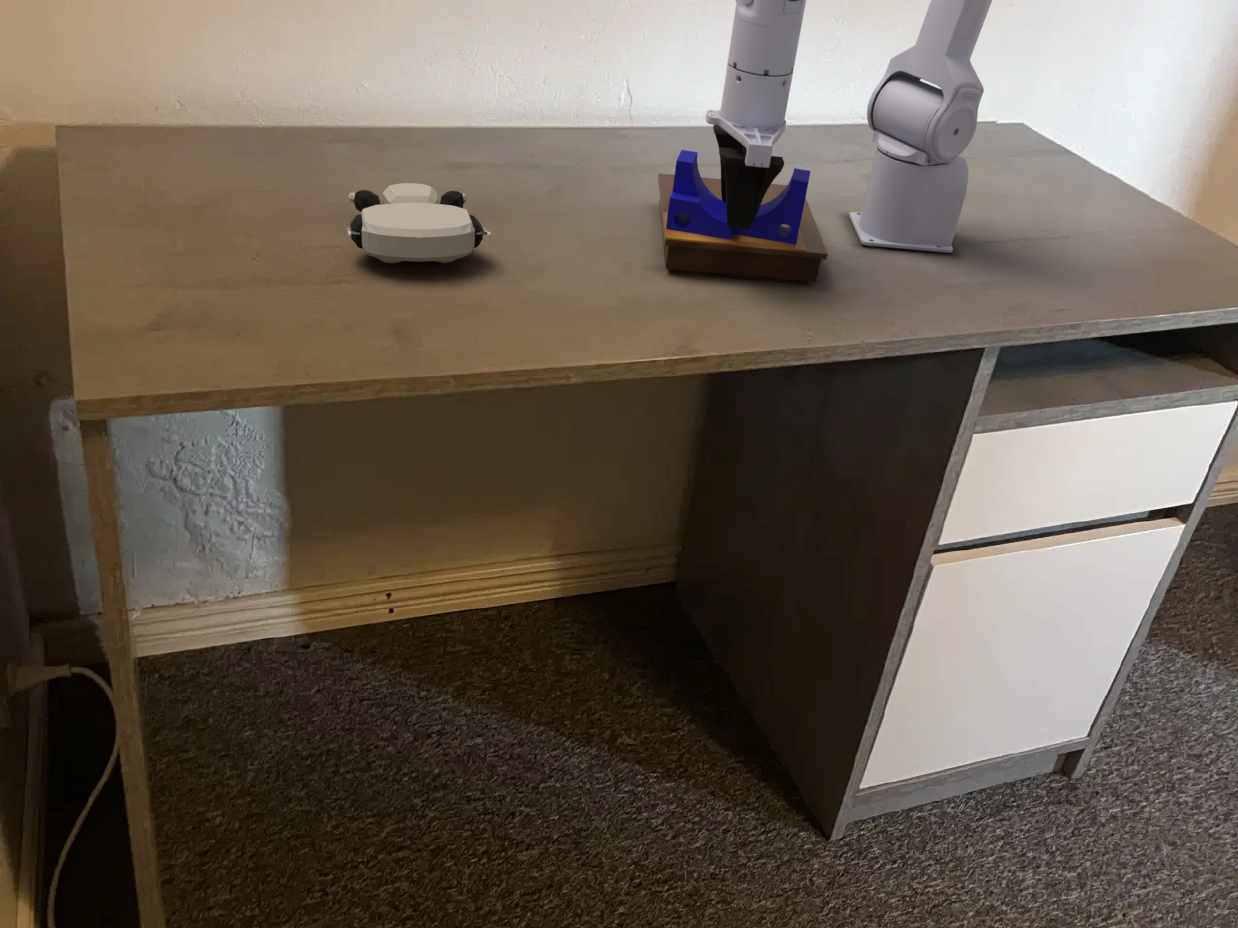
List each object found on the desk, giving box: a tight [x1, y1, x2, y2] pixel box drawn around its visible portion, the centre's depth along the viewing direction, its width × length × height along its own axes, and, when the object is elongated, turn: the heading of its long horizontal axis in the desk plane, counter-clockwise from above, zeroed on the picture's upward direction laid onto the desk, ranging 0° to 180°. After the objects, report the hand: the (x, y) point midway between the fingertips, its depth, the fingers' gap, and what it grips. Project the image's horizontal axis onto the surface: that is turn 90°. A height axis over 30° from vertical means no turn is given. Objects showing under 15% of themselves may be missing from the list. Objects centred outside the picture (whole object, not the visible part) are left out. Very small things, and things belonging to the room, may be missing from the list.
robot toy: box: [346, 182, 492, 264], centre depth 105 cm, size 12×4×15 cm
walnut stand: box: [657, 173, 829, 285], centre depth 112 cm, size 15×17×4 cm
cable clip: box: [666, 149, 811, 244], centre depth 105 cm, size 12×4×6 cm, turn 79°
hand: (735, 215), depth 106 cm, fingers closed on cable clip, 5 cm apart
